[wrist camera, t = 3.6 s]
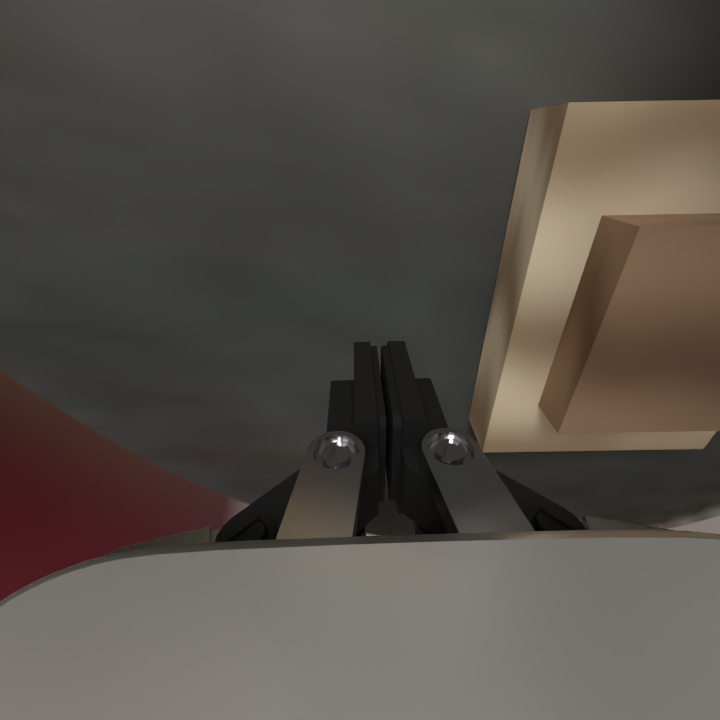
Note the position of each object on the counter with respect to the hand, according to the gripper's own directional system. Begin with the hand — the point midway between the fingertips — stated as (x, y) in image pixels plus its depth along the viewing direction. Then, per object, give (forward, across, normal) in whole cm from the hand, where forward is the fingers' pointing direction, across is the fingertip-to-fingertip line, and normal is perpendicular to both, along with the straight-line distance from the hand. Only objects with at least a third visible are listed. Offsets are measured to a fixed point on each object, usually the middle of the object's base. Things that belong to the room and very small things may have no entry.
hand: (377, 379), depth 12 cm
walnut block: (+2, -11, -1) cm, 11 cm away
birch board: (+5, -11, -1) cm, 12 cm away
